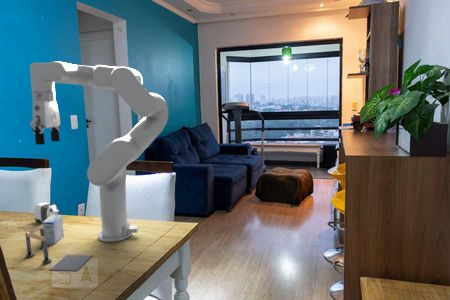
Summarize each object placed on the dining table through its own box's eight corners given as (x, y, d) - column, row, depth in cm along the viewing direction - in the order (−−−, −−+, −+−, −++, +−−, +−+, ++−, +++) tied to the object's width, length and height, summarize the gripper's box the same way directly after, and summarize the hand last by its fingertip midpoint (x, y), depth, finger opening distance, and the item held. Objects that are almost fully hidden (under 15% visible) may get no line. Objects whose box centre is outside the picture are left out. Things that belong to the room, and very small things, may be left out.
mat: (92, 256, 113) (92, 255, 113) (77, 271, 103) (77, 270, 103) (66, 255, 114) (66, 254, 114) (49, 270, 104) (49, 269, 104)
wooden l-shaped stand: (69, 246, 121) (68, 223, 120) (48, 264, 108) (45, 238, 106) (41, 246, 122) (38, 223, 120) (15, 263, 109) (13, 238, 107)
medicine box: (52, 236, 131) (50, 215, 129) (64, 235, 131) (62, 214, 130) (43, 245, 123) (41, 222, 122) (55, 244, 123) (53, 221, 122)
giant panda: (33, 222, 146) (30, 201, 144) (45, 219, 150) (43, 198, 149) (52, 229, 138) (50, 207, 137) (64, 225, 143) (62, 203, 141)
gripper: (39, 96, 115) (44, 145, 118) (66, 97, 132) (69, 140, 135) (18, 97, 116) (23, 145, 118) (48, 97, 133) (52, 140, 135)
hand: (48, 142), depth 127 cm, fingers open, 9 cm apart
